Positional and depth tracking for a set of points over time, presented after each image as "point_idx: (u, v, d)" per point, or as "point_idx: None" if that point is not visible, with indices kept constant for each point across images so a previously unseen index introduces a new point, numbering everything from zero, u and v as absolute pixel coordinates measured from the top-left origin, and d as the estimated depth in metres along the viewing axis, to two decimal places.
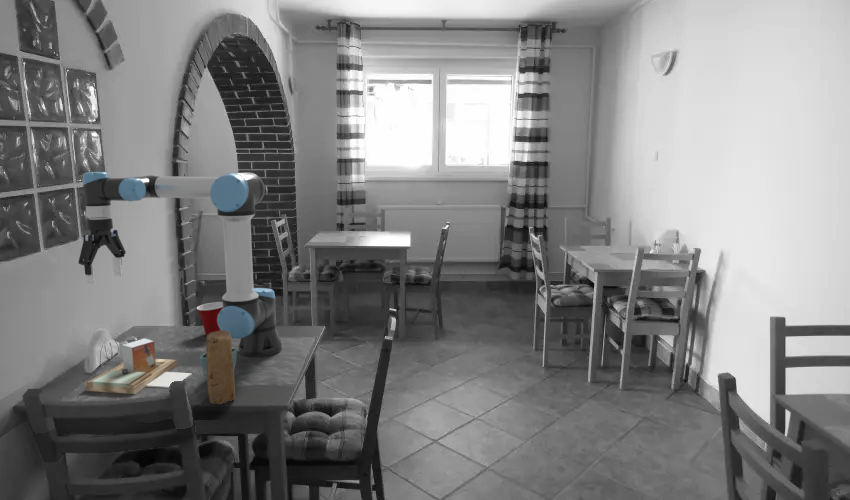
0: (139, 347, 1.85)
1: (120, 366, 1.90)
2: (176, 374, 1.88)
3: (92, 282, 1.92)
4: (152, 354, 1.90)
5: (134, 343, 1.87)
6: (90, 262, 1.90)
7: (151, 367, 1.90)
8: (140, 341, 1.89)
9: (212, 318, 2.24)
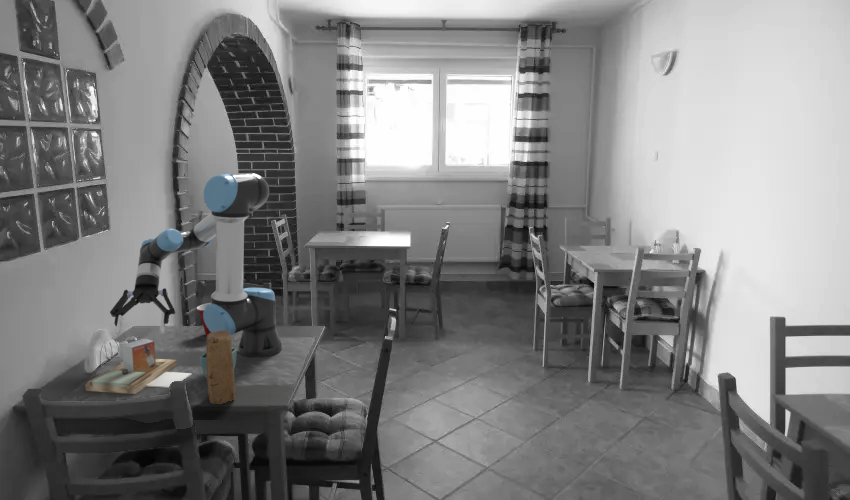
0: (139, 347, 1.85)
1: (120, 366, 1.90)
2: (176, 374, 1.88)
3: None
4: (152, 354, 1.90)
5: (134, 343, 1.87)
6: (117, 312, 1.96)
7: (151, 367, 1.90)
8: (140, 341, 1.89)
9: None
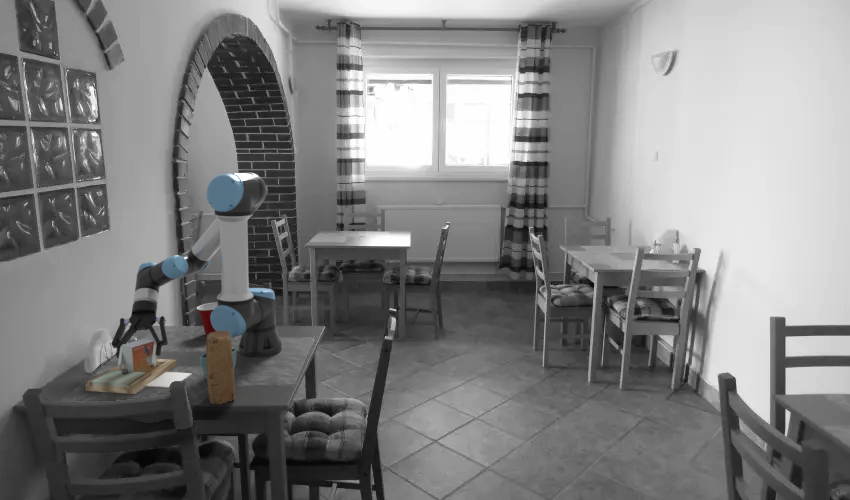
0: (139, 347, 1.85)
1: None
2: (176, 374, 1.88)
3: None
4: (152, 354, 1.90)
5: (134, 343, 1.87)
6: (119, 343, 1.88)
7: (151, 366, 1.90)
8: (140, 341, 1.89)
9: None
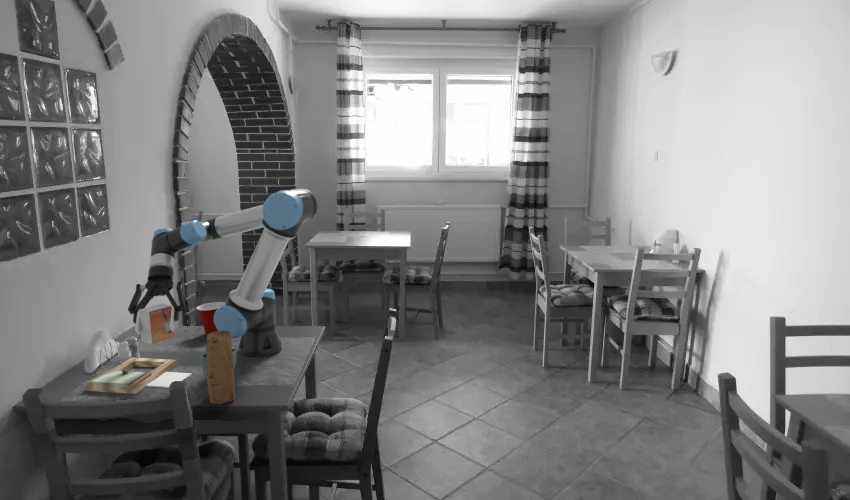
0: (156, 311, 1.79)
1: (120, 366, 1.90)
2: (176, 374, 1.88)
3: None
4: (170, 319, 1.83)
5: (151, 308, 1.81)
6: (135, 309, 1.82)
7: (169, 332, 1.83)
8: (157, 306, 1.83)
9: (212, 318, 2.24)
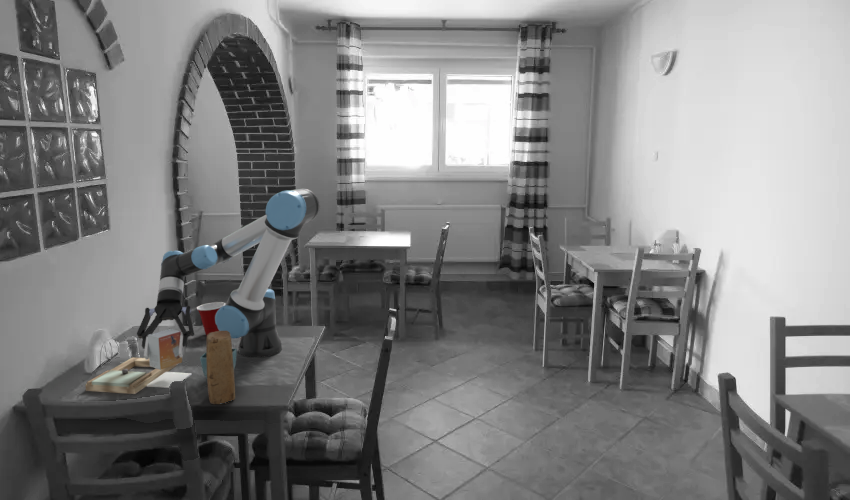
0: (165, 337, 1.79)
1: (120, 366, 1.90)
2: (176, 374, 1.88)
3: None
4: (178, 345, 1.83)
5: (160, 333, 1.81)
6: (144, 334, 1.82)
7: (177, 358, 1.83)
8: (166, 331, 1.83)
9: (212, 318, 2.24)
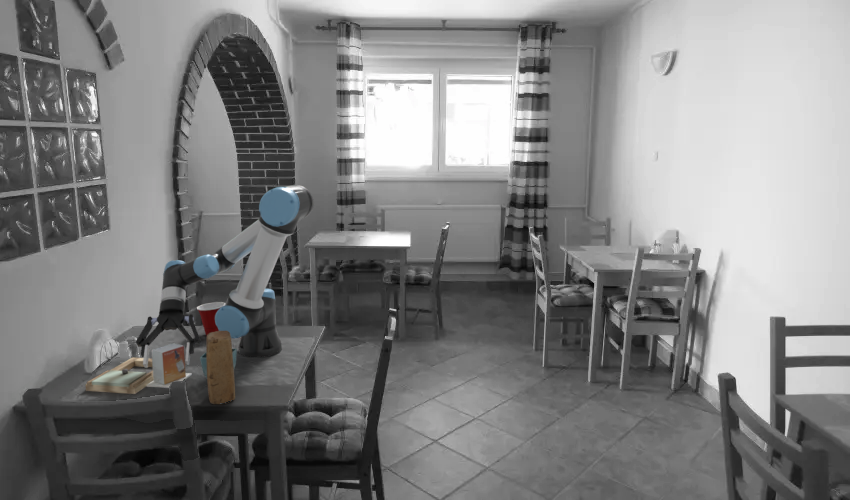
0: (169, 352, 1.80)
1: (120, 366, 1.90)
2: None
3: None
4: (182, 359, 1.84)
5: (164, 348, 1.82)
6: (143, 342, 1.82)
7: (180, 372, 1.84)
8: (170, 346, 1.83)
9: (212, 318, 2.24)
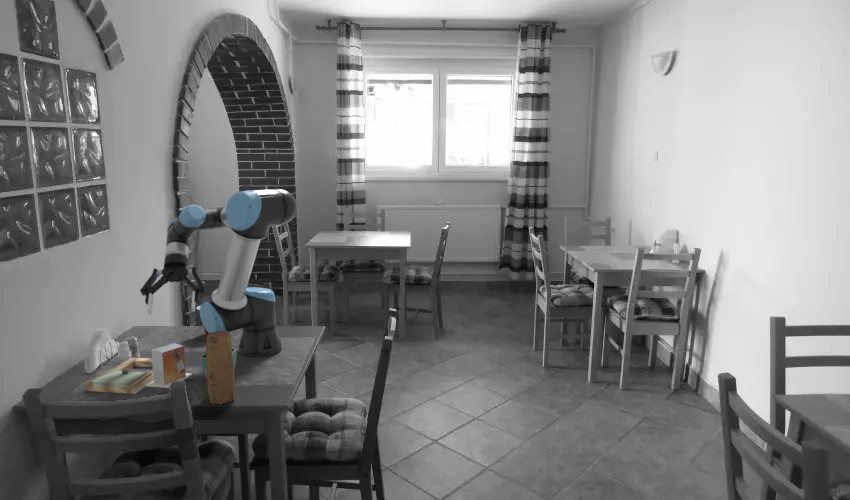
0: (169, 352, 1.80)
1: (120, 366, 1.90)
2: None
3: None
4: (182, 359, 1.84)
5: (164, 348, 1.82)
6: (147, 291, 1.94)
7: (180, 372, 1.84)
8: (170, 346, 1.83)
9: None
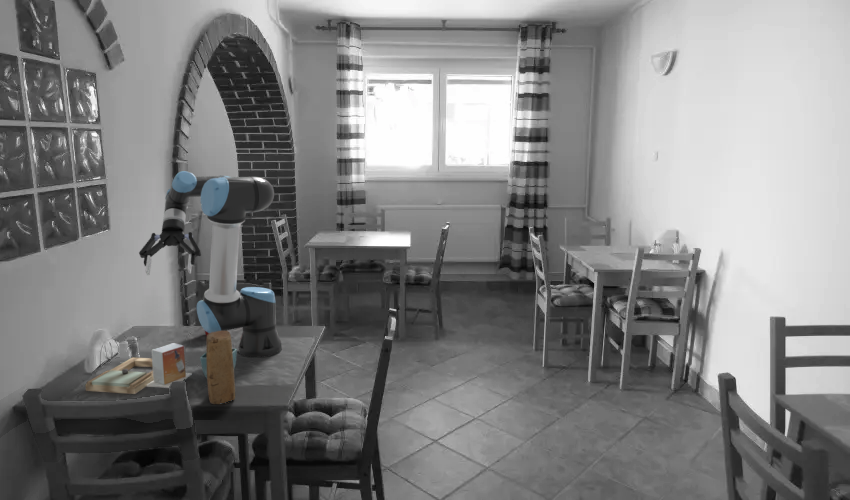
0: (169, 352, 1.80)
1: (120, 366, 1.90)
2: None
3: None
4: (182, 359, 1.84)
5: (164, 348, 1.82)
6: (146, 253, 2.04)
7: (180, 372, 1.84)
8: (170, 346, 1.83)
9: None
